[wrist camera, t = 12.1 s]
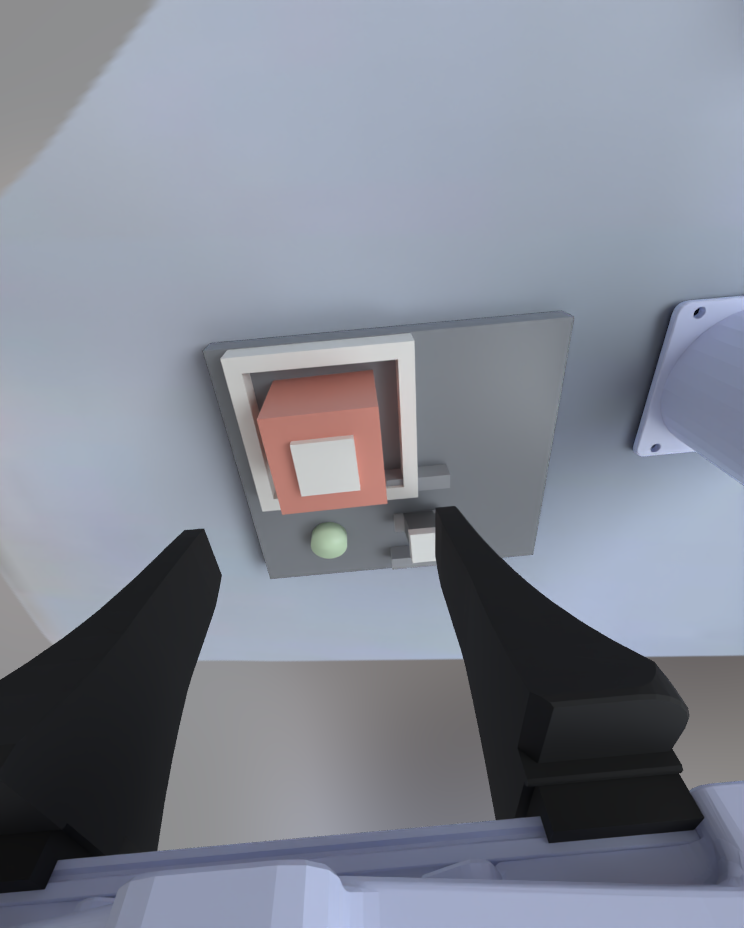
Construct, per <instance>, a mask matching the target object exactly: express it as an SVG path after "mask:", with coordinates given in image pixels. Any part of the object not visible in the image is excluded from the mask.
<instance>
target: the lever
mask: <svg viewBox="0 0 744 928" xmlns="http://www.w3.org/2000/svg"><path fill="white" fill-rule="evenodd" d="M393 515H394V527H395V532H404V531H405V534H406V537H407V540H408V543H409V546H410V556H411V559H412V562H413V563H419V562H430V561H436V558H435V510H429V511H419V512H408V513H397V514H393Z"/></svg>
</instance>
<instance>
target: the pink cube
mask: <svg viewBox="0 0 744 928" xmlns="http://www.w3.org/2000/svg"><path fill="white" fill-rule="evenodd" d="M257 423H258V426H259V430H260V434H261V438H262V441H263V445H264V449H265V452H266V456H267V460H268V464H269V467H270V471H271V475H272V479H273V482H274V486H275V490H276V494H277V497H278V501H279V505H280V508H281V512H282V515H285V514H294V513H304V512H313V511H323V510H332V509H342V508H351V507H360V506H370V505H379V504H388V503H387V493H386V482H385V472H384V461H383V450H382V440H381V429H380V419H379V408H378V401H377V394H376V388H375V381H374V374H373V370H366V371H357V372H347V373H338V374H329V375H320V376H311V377H301V378H292V379H283V380H274V381H273V382H272V384H271V387H270V389H269V392H268V394H267V396H266V399H265V401H264V403H263V406H262V408H261V411H260V413H259V415H258V418H257Z"/></svg>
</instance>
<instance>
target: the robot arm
mask: <svg viewBox="0 0 744 928" xmlns="http://www.w3.org/2000/svg"><path fill="white" fill-rule="evenodd" d="M699 307H700V308H699ZM698 308H699V312H698V314H696V315H695V316H694V312H695V310H696V309H698ZM654 444H656V445H655V446H654V447H653V448H651V447H652V446H653V445H654ZM633 451H634V452H635V453H636V454H637V455H639V456H654V455H664V454H675V453H686V452H697V453H699V454H700V455H701V456H703V457H704V458H706V459H707V460H708V461H710V462H711V463H713V464H714V465H715V466H717V467H718V468H720V469H721V470H722V471H724V472H725V473H727V474H728V475H729V476H731V477H732V478H734V479H735V480H736V481H738V482H739V483H741V484H742V485H743V486H744V295H743V296H732V297H721V298H710V299H699V300H688V301H684V302H681V303H680V304H678V305H677V306H676V308H675V309H674V311H673V313H672V316H671V319H670V323H669V326H668V330H667V333H666V336H665V340H664V343H663V347H662V350H661V354H660V357H659V360H658V364H657V367H656V371H655V374H654V377H653V381H652V384H651V388H650V391H649V394H648V398H647V401H646V405H645V408H644V412H643V415H642V418H641V422H640V425H639V429H638V432H637V435H636V439H635V442H634V446H633ZM435 558H436V563H437V569H438V574H439V579H440V584H441V588H442V591H443V594H444V598H445V601H446V604H447V607H448V610H449V613H450V617H451V620H452V623H453V626H454V629H455V632H456V636H457V639H458V642H459V645H460V648H461V651H462V655H463V659H464V662H465V666H466V671H467V676H468V680H469V685H470V690H471V694H472V699H473V704H474V708H475V713H476V718H477V723H478V728H479V733H480V737H481V743H482V748H483V754H484V758H485V764H486V769H487V774H488V779H489V785H490V791H491V796H492V802H493V807H494V813H495V818H496V820H493V821H482V822H471V823H461V824H449V825H440V826H428V827H416V828H405V829H395V830H384V831H372V832H361V833H351V834H340V835H330V836H319V837H307V838H296V839H286V840H274V841H263V842H252V843H241V844H230V845H220V846H208V847H197V848H186V849H176V850H164V851H157V848H158V842H159V835H160V828H161V822H162V816H163V809H164V802H165V797H166V791H167V786H168V780H169V775H170V769H171V764H172V758H173V753H174V749H175V744H176V739H177V735H178V730H179V725H180V721H181V716H182V712H183V708H184V704H185V699H186V695H187V691H188V687H189V684H190V681H191V677H192V674H193V671H194V668H195V666H196V663H197V660H198V657H199V654H200V651H201V648H202V645H203V642H204V639H205V637H206V634H207V631H208V628H209V625H210V622H211V619H212V616H213V613H214V610H215V607H216V602H217V598H218V593H219V588H220V582H221V576H222V575H221V572H220V569H219V567H218V564H217V562H216V559H215V556H214V554H213V551H212V548H211V546H210V543H209V541H208V538H207V535H206V533H205V530H204V529H194V530H184V531H183V532H182V533H181V534H180V535H179V536H178V537H177V538H176V539H175V540H174V541H173V542H172V543H170V544H169V545H168V546H167V547H166V548H165V549H164V550H163V551H162V552H161V553H160V554H159V555H158V556H157V557H156V558H155V559H154V560H153V561H152V562H151V563H150V564H149V565H148V566H147V567H146V568H145V569H144V570H143V571H142V572H141V573H140V574H139V575H138V576H137V577H136V578H134V579H133V580H132V581H131V582H130V583H129V584H128V585H127V586H126V587H125V588H123V589H122V590H121V591H120V592H119V593H118V594H117V595H116V596H114V597H113V598H112V599H111V600H110V601H109V602H108V603H107V604H105V605H104V606H103V607H102V608H101V609H100V610H98V611H97V612H96V613H95V614H93V615H92V616H91V617H90V618H89V619H87V620H86V621H85V622H83V623H82V624H81V625H80V626H78V627H77V628H76V629H74V630H73V631H72V632H70V633H69V634H68V635H66V636H65V637H64V638H62V639H61V640H59V641H58V642H57V643H55V644H54V645H52V646H51V647H50V648H48V649H46V650H45V651H43V652H42V653H41V654H39V655H38V656H36V657H35V658H33V659H32V660H31V661H29V662H28V663H26V664H24V665H23V666H21V667H20V668H18V669H17V670H15V671H14V672H12V673H10V674H9V675H7V676H6V677H4V678H2V679H1V680H0V928H744V781H734V782H722V783H712V784H705V785H700V786H697V787H695V788H692V789H691V790H690V791H689V790H688V788H687V787H686V785H685V783H684V781H683V780H682V778H681V776H680V775H679V773H681V772H682V771H683V768H682V764H681V763H680V761H679V759H678V758H677V756H676V755H675V753H674V751H673V749H672V748H673V746H674V744H675V743H676V741H677V740H678V738H679V737H680V735H681V734H682V732H683V730H684V729H685V727H686V724H687V722H688V719H689V711H688V707H687V706H686V704H685V703H684V701H683V700H682V698H681V697H680V695H679V694H678V692H677V691H676V689H675V688H674V686H673V685H672V684H671V682H670V681H669V679H668V678H667V677H666V676H665V675H664V673H663V672H662V671H661V670H660V669H659V667H658V666H657V665H656V663H655V662H653V661H652V660H650V659H648V658H646V657H644V656H642V655H640V654H638V653H636V652H634V651H632V650H631V649H629V648H627V647H625V646H623V645H621V644H619V643H617V642H615V641H613V640H612V639H610V638H608V637H606V636H605V635H603V634H601V633H600V632H598V631H596V630H595V629H593V628H591V627H589V626H588V625H586V624H585V623H583V622H581V621H580V620H578V619H577V618H575V617H574V616H572V615H571V614H570V613H568V612H567V611H565V610H564V609H562V608H561V607H559V606H558V605H556V604H555V603H553V602H552V601H551V600H549V599H548V598H547V597H545V596H544V595H543V594H542V593H540V592H539V591H538V590H537V589H535V588H534V587H533V586H532V585H530V584H529V583H528V582H527V581H526V580H525V579H523V578H522V577H521V576H520V575H519V574H518V573H517V572H515V571H514V570H513V569H512V568H511V567H510V566H509V565H508V564H507V563H506V562H505V561H504V560H503V559H502V558H501V557H500V556H499V555H498V554H497V553H496V552H495V551H494V550H493V549H492V548H491V547H490V546H489V545H488V544H487V542H486V541H485V540H484V539H483V538H482V537H481V536H480V535H479V534H478V532H477V531H476V530H475V529H474V528H473V527H472V525H471V524H470V523H469V522H468V520H467V519H466V518H465V517H464V515H463V514H462V513H461V512H460V510H459V509H458V508H457V507H456V506H448V507H437V508H435Z"/></svg>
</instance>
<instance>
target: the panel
mask: <svg viewBox="0 0 744 928" xmlns="http://www.w3.org/2000/svg"><path fill="white" fill-rule="evenodd" d="M573 322H574V316H572V315H570V314H568V313H566V312H564V311H554V312H543V313H532V314H521V315H510V316H500V317H489V318H478V319H467V320H456V321H445V322H434V323H424V324H413V325H402V326H391V327H380V328H369V329H359V330H348V331H337V332H326V333H315V334H304V335H294V336H283V337H272V338H261V339H250V340H239V341H229V342H218V343H210V344H209V345H208V346H207V347H206V348H205V349H204V350H203V353H204V357H205V360H206V364H207V367H208V370H209V374H210V377H211V380H212V384H213V387H214V391H215V394H216V397H217V401H218V404H219V407H220V411H221V414H222V418H223V421H224V424H225V428H226V431H227V434H228V438H229V441H230V445H231V448H232V451H233V455H234V458H235V461H236V465H237V468H238V472H239V475H240V478H241V482H242V485H243V488H244V492H245V495H246V499H247V502H248V505H249V509H250V512H251V515H252V519H253V522H254V526H255V529H256V532H257V536H258V539H259V542H260V546H261V549H262V553H263V556H264V559H265V563H266V566H267V569H268V573H269V576H270V579H276V578H287V577H298V576H309V575H319V574H330V573H341V572H352V571H363V570H373V569H384V568H392V569H403V568H414V567H425V566H436V565H437V563H436V561H430V562H419V563H413V562H412V559H411V556H410V546H409V543H408V540H407V537H406V534H405V531H404V532H395V527H394V515H393V514H397V513H408V512H419V511H429V510H435V508H437V507H448V506H456V507H457V508H458V509H459V510H460V512H461V513H462V514H463V515H464V517H465V518H466V519H467V520H468V522H469V523H470V524H471V525H472V527H473V528H474V529H475V530H476V531H477V532H478V534H479V535H480V536H481V537H482V538H483V539H484V540H485V541H486V542H487V544H488V545H489V546H490V547H491V548H492V549H493V550H494V551H495V552H496V553H497V554H498V555H499V556H500V557H501V558H503V557H514V556H525V555H533V552H534V546H535V540H536V535H537V529H538V523H539V517H540V512H541V506H542V500H543V494H544V489H545V483H546V477H547V471H548V466H549V460H550V454H551V448H552V443H553V437H554V431H555V425H556V420H557V414H558V408H559V402H560V397H561V391H562V385H563V379H564V374H565V368H566V362H567V356H568V351H569V345H570V339H571V333H572V328H573ZM366 370H373V374H374V381H375V388H376V394H377V401H378V408H379V419H380V429H381V440H382V450H383V461H384V472H385V482H386V493H387V503H388V504H379V505H370V506H360V507H351V508H342V509H332V510H323V511H313V512H304V513H294V514H285V515H282V512H281V508H280V505H279V501H278V497H277V494H276V490H275V486H274V482H273V479H272V475H271V471H270V467H269V464H268V460H267V456H266V452H265V449H264V445H263V441H262V438H261V434H260V430H259V426H258V423H257V418H258V415H259V413H260V411H261V408H262V406H263V403H264V401H265V399H266V396H267V394H268V392H269V389H270V387H271V384H272V382H273V381H274V380H283V379H292V378H301V377H311V376H320V375H329V374H338V373H347V372H357V371H366Z"/></svg>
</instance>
